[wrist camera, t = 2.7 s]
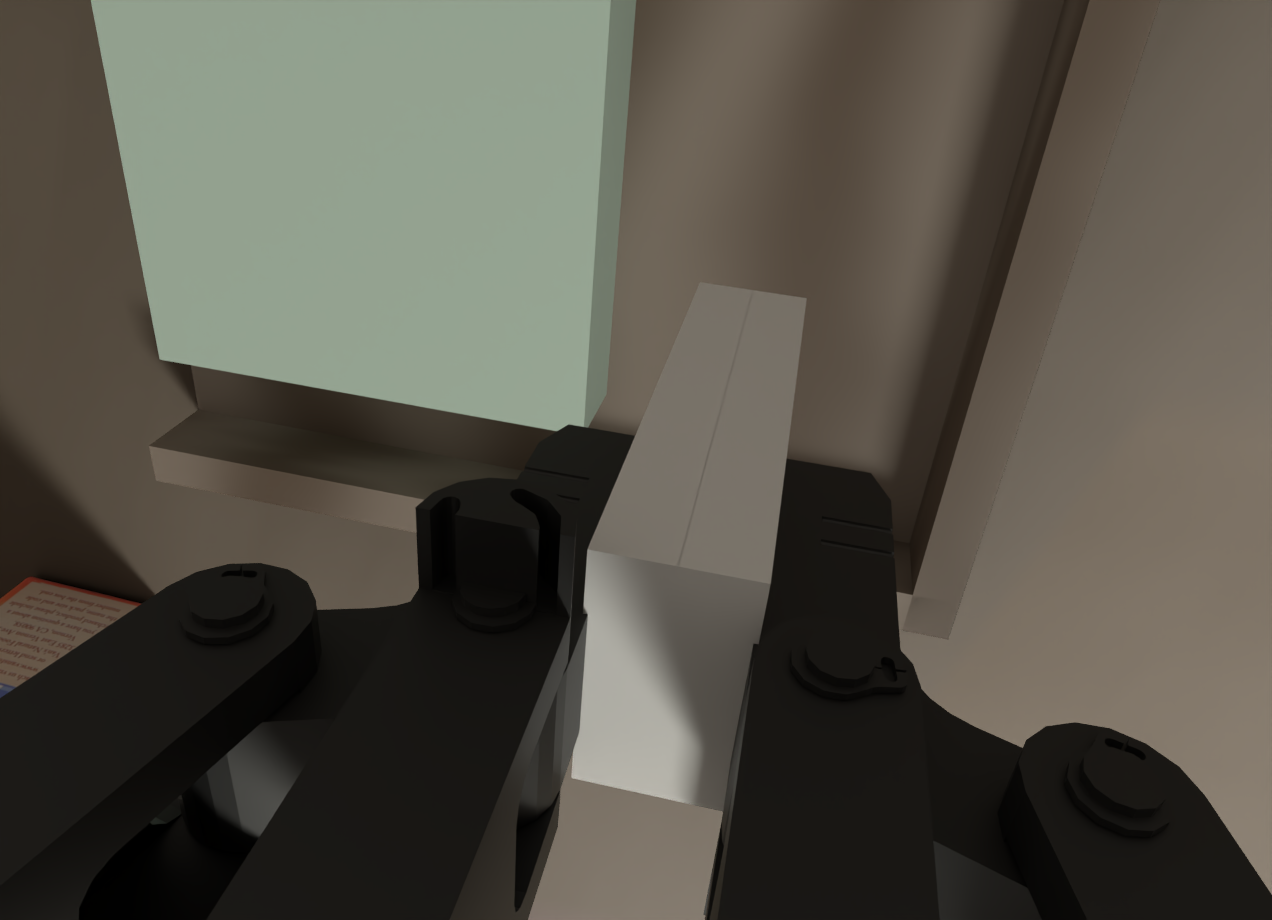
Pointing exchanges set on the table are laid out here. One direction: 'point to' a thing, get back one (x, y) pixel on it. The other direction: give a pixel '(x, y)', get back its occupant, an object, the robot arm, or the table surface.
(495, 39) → the cover plate
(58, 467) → the table surface
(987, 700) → the table surface
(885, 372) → the slide box
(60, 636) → the cracker box
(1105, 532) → the table surface
